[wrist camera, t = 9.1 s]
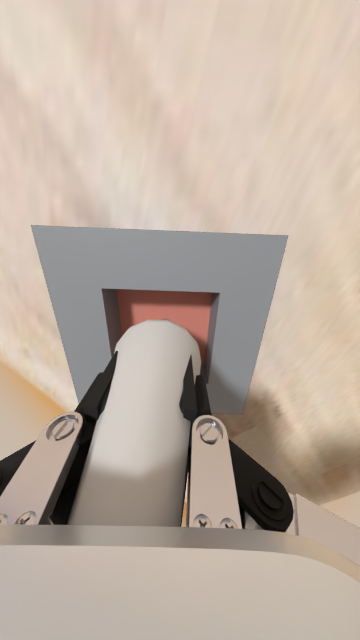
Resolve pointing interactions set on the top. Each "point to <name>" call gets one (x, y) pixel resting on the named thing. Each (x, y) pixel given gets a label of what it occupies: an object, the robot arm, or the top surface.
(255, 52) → the top surface
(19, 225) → the top surface
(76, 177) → the top surface
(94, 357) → the socket board
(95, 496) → the white bulbous peg
